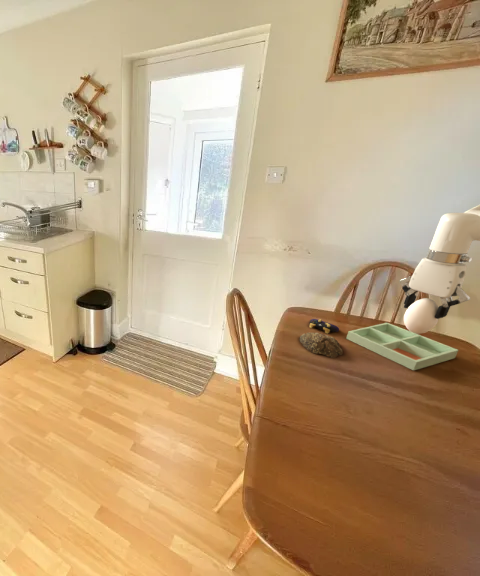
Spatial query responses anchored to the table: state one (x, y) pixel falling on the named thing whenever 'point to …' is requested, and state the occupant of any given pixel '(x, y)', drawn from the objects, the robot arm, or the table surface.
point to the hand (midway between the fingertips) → (423, 312)
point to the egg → (421, 316)
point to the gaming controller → (323, 325)
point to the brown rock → (321, 344)
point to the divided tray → (402, 345)
